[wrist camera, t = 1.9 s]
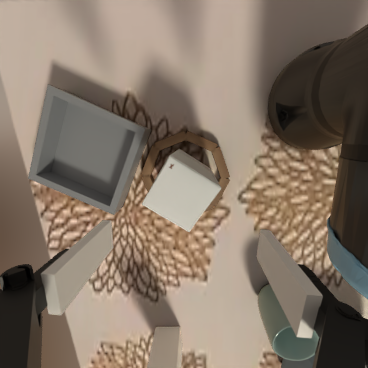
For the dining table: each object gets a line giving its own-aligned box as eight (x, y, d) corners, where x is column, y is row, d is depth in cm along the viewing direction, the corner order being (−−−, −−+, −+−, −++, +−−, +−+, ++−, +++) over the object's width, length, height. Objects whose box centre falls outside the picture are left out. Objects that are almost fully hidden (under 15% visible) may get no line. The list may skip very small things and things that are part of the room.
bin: (66, 91, 31) (47, 84, 27) (151, 129, 32) (145, 128, 28) (46, 174, 35) (28, 178, 31) (122, 206, 36) (114, 214, 32)
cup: (259, 274, 38) (281, 320, 28) (295, 282, 38) (329, 331, 28) (248, 302, 40) (265, 355, 30) (282, 310, 40) (311, 365, 30)
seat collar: (163, 120, 31) (162, 119, 30) (240, 155, 32) (242, 155, 31) (135, 194, 35) (132, 196, 34) (204, 224, 36) (204, 227, 34)
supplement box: (158, 180, 34) (138, 204, 22) (179, 147, 32) (169, 152, 20) (191, 201, 35) (188, 234, 23) (212, 169, 33) (223, 187, 21)
